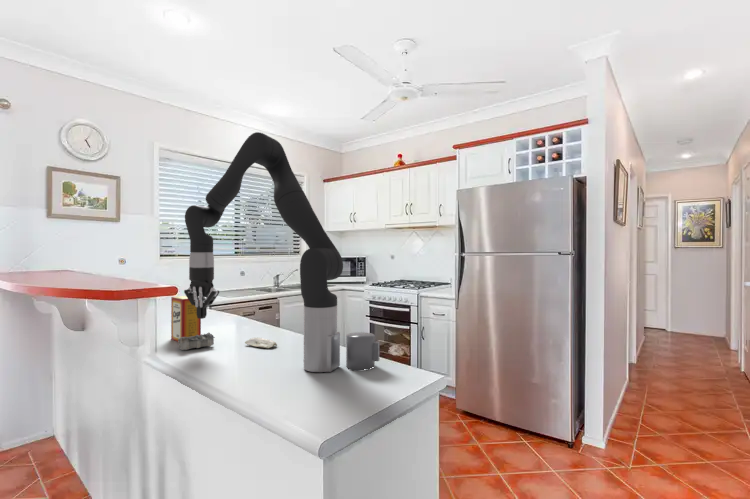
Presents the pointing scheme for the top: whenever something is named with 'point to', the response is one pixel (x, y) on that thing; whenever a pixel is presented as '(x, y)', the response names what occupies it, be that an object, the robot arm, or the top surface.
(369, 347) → the charcoal mug
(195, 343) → the egg carton
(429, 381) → the top surface
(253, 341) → the pale elongated rock
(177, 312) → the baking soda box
